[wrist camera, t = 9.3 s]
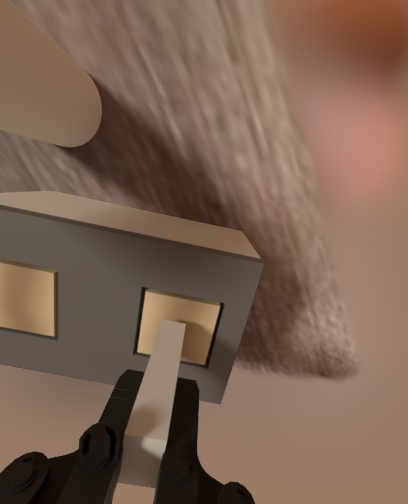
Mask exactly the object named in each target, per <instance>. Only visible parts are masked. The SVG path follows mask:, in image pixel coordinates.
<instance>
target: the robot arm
mask: <svg viewBox="0 0 408 504" xmlns="http://www.w3.org/2000/svg"><path fill="white" fill-rule="evenodd" d="M185 326H186V324H184V323H179V322H173V321H168V320H162V323H161V326H160V329H159V332H158V335H157V338H156V341H155V344H154V347H153V350H152V353H151V356H150V359H149V362H148V365H147V368H146V371H145V372H142V371H136V370H130V369H127V370H126V371H125V372H124V373H123V374H122V375H121V376H120V377H119V379H118V381H117V383H116V385H115V388H114V390H113V392H112V394H111V396H110V398H109V401H108V403H107V405H106V407H105V409H104V411H103V413H102V416H101V418H100V420H99V422H98V423H96V424H94V425H92V426H91V427H90V428H88V429H87V430H86V431H85V432H84V434H83V435H82V436H81V438H80V439H79V449H78V450H76V451H75V452H73V453H70V454H67V455H63V456H58V457H54V458H50V459H48V458H47V457H46V456H45V455H44V454H43V453H40V452H31V453H26V454H24V455H22V456H20V457H19V458H17V459H15V460H14V461H13V462H12V463H11V464H10V465H8V466H7V467H6V468H5V469H4V470H3V471H2V472H1V473H0V504H112V499H113V494H114V491H115V488H116V484H117V481H118V483H124V484H131V485H138V486H145V487H151V488H156V490H155V496H154V502H153V504H255V502H254V500H253V497H252V495H251V494H250V492H249V491H248V490H247V489H246V488H245V487H244V486H243V485H241V484H240V483H238V482H229V483H227V484H225V485H223V484H222V483H220V482H219V481H217V480H216V479H214V478H212V477H211V476H209V475H208V474H207V473H206V472H205V470H204V469H203V468H202V466H201V464H200V462H199V459H198V455H197V435H198V410H199V388H198V385H197V382H196V380H191V379H185V378H179V377H177V376H178V370H179V364H180V357H181V351H182V345H183V339H184V332H185Z"/></svg>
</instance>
